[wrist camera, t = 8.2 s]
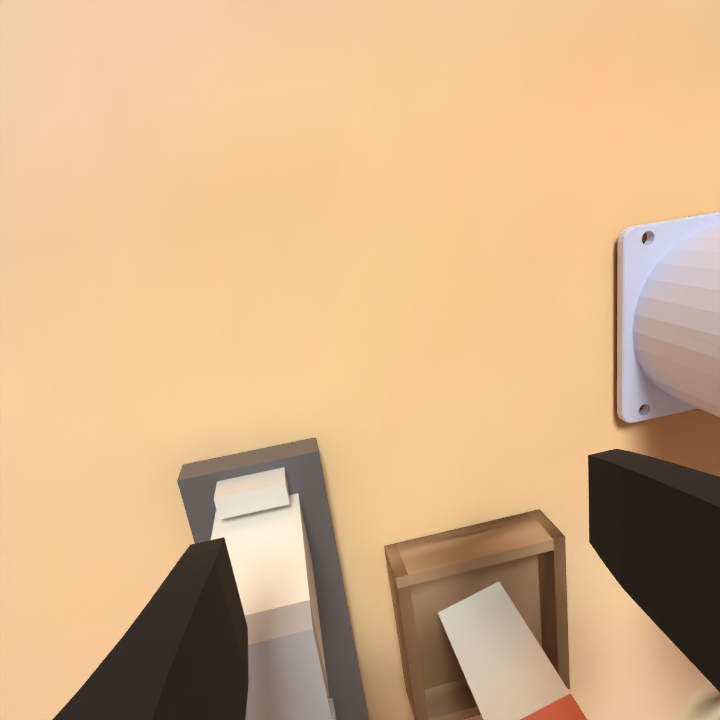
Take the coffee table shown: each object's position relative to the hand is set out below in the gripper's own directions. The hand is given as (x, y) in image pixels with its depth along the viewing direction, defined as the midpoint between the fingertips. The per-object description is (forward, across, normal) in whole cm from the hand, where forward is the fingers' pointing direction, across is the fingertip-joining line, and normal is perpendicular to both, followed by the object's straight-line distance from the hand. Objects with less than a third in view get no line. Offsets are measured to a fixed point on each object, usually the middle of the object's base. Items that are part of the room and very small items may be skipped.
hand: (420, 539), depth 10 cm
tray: (+10, -4, +12) cm, 16 cm away
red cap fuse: (+9, -4, +12) cm, 16 cm away
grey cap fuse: (+9, +4, +5) cm, 11 cm away
